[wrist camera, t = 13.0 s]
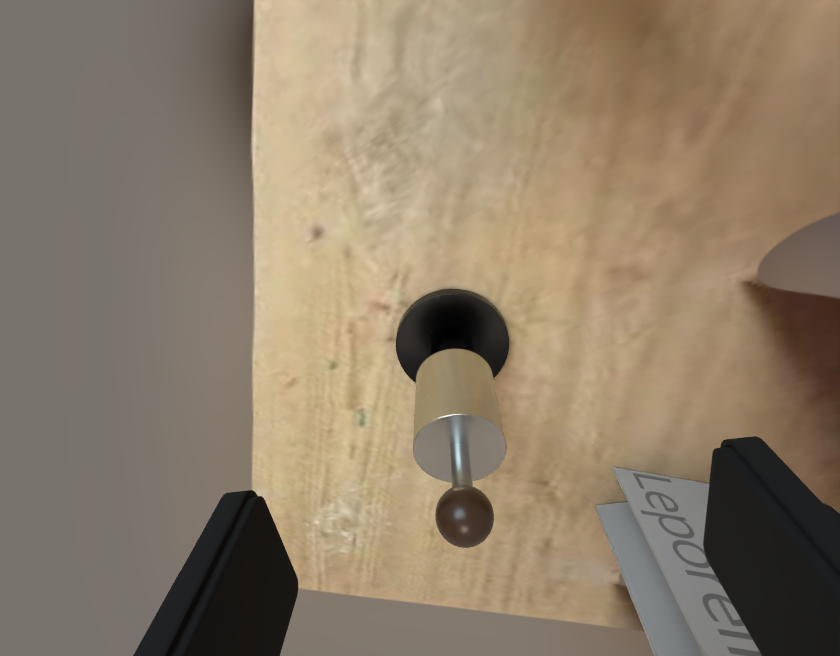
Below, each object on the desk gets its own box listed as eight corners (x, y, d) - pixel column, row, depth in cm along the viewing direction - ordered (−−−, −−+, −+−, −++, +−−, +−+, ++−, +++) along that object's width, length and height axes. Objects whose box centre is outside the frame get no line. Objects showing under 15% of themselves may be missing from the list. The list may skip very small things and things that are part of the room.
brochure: (746, 490, 49) (1138, 966, 22) (722, 528, 51) (1049, 1004, 24) (613, 466, 48) (841, 926, 21) (594, 507, 51) (779, 970, 23)
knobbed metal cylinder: (527, 571, 26) (520, 496, 23) (419, 580, 27) (399, 508, 24) (492, 385, 41) (485, 324, 38) (423, 393, 41) (411, 335, 38)
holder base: (512, 381, 45) (521, 414, 40) (407, 394, 46) (403, 427, 41) (501, 280, 41) (510, 303, 36) (387, 297, 42) (380, 321, 37)
